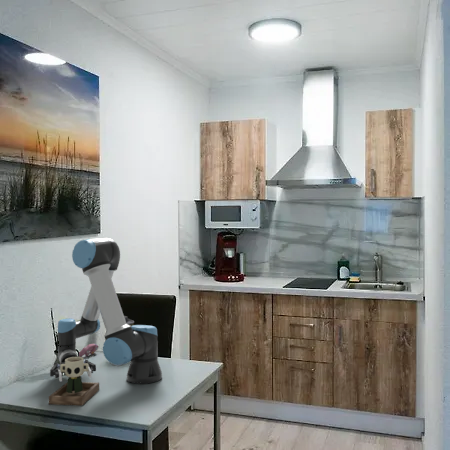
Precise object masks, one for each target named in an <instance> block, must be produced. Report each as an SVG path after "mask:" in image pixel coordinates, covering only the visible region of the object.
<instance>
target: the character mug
mask: <svg viewBox="0 0 450 450" xmlns="http://www.w3.org/2000/svg"><path fill="white" fill-rule="evenodd" d="M84 361H85V360H84V357H83V356H82V357H79V356H78V357H71V358H67V359H65V364H61V365H60V370H61V372H63V373H65V377H68V378H67V380H66V381H67V382H66V383H67V392H68V393H72V391H74V392H75V393H78V392H81V391H82V390H83V386H82V382H83V381H82V377H81V376H84V374H85V372H86V373H87V371H88V369H89V365H88V363H84ZM63 366H65V370H63ZM84 366H86V369H84Z"/></svg>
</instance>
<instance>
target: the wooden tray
mask: <svg viewBox="0 0 450 450" xmlns="http://www.w3.org/2000/svg"><path fill="white" fill-rule="evenodd" d="M82 386H83V390H82V391H81V392H78V393H75V392H74V391H72V393H68V392H67V382H65V383H64V384H63V385H62V386H60V387H59V388H58V389H57V390H55V391H54V392H53V393H51V394H50V395H49V396H48V405H54V406H56V405H59V406H80V407H81V406H82V407H83V406H84V405H85V404H86V403H87V402H89V400H91V399H92V397H93V396H95V395H96V394H97V393H98V392H99V391H100V382H93V381H92V382H91V381H90V382H89V381H87V382H86V381H82Z"/></svg>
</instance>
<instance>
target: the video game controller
mask: <svg viewBox="0 0 450 450" xmlns="http://www.w3.org/2000/svg"><path fill="white" fill-rule="evenodd" d="M98 349H99V345H98V344H96V343H90V344H88V345H85V346H84V347H83V348H82V349H80V351H79V352H78V353H79V356H78V357H82V358H83V356H84V355H85V356H86V357H89V356H90V355H94V354H95V353H96V352H97V351H98Z"/></svg>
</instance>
